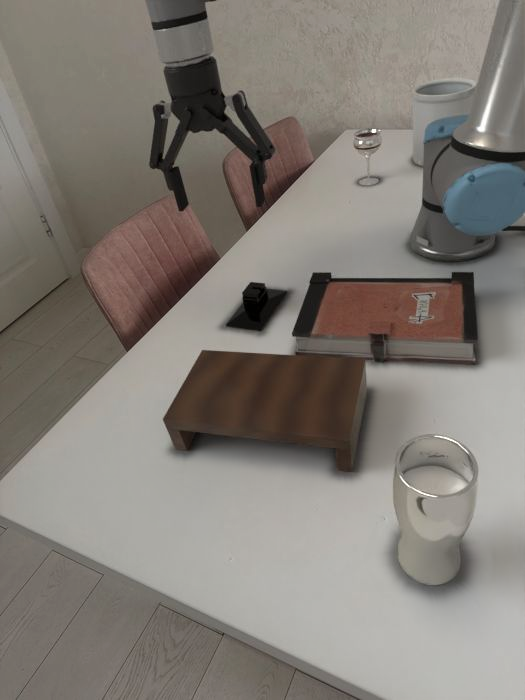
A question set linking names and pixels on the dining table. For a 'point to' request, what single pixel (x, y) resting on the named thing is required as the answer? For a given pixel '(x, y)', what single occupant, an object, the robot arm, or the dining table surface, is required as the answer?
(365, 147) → the wineglass
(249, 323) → the build plate
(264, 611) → the dining table surface
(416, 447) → the beer glass
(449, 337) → the book
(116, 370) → the dining table surface
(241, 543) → the dining table surface
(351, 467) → the shelf
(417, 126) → the utensil holder
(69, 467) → the dining table surface
